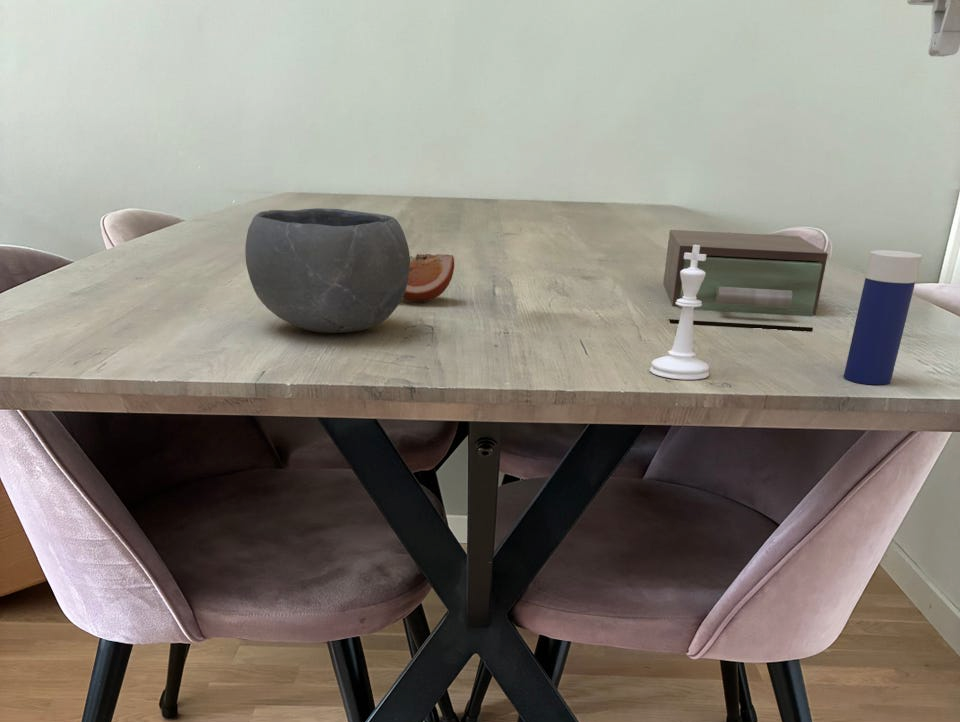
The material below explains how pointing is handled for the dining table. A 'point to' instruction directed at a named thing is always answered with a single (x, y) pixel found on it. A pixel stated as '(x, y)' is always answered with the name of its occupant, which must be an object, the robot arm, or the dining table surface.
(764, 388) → the dining table surface
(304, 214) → the bowl
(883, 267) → the glue stick
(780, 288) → the drawer
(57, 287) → the dining table surface
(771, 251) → the cabinet
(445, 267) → the fruit slice
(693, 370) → the chess piece
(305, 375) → the dining table surface
